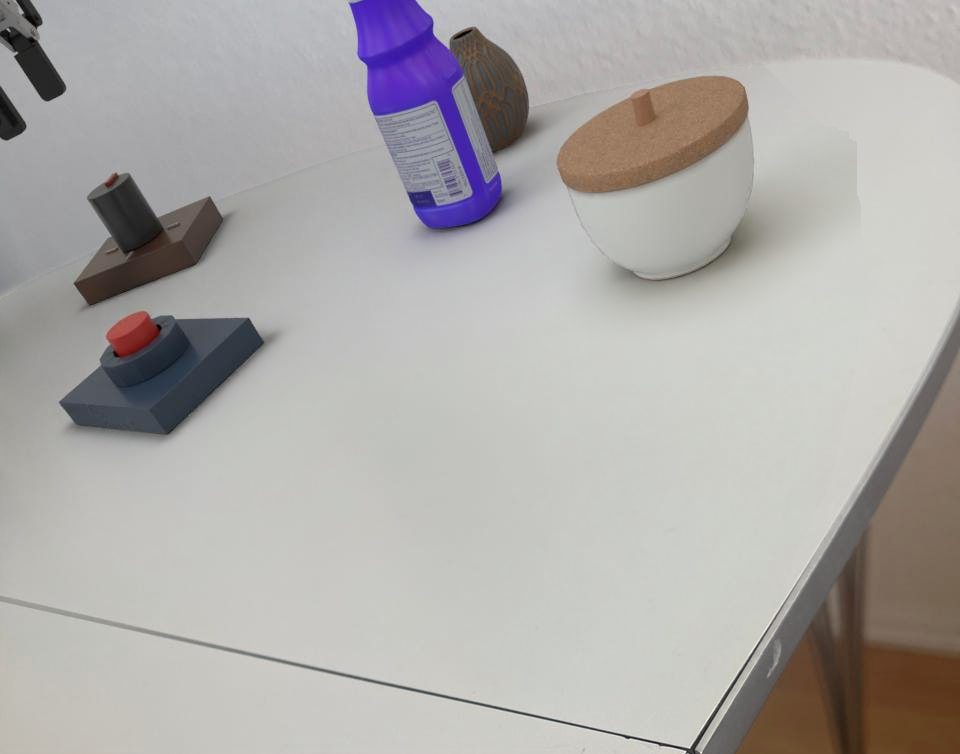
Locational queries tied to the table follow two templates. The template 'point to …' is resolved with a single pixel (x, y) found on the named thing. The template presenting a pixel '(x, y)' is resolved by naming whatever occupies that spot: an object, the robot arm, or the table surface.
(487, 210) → the bottle
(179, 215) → the panel
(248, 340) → the button box
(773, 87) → the table surface
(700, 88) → the trinket box
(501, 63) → the vase
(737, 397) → the table surface
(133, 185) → the dial knob
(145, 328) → the button
